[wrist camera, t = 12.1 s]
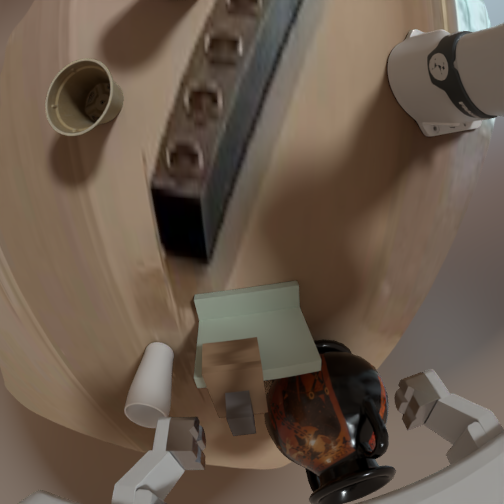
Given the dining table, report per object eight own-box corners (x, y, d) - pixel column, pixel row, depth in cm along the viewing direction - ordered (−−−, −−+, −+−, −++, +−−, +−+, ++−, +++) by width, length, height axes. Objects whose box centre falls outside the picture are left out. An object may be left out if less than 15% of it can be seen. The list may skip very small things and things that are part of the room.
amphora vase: (329, 404, 59) (365, 506, 33) (242, 394, 54) (255, 519, 29) (381, 335, 52) (450, 444, 26) (285, 313, 47) (334, 465, 22)
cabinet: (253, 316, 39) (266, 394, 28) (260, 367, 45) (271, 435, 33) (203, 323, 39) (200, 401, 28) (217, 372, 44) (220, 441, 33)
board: (296, 280, 45) (322, 335, 32) (298, 311, 47) (320, 370, 35) (194, 294, 44) (185, 355, 32) (202, 325, 47) (197, 388, 34)
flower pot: (139, 68, 31) (118, 53, 23) (132, 133, 35) (108, 133, 27) (80, 75, 30) (50, 65, 22) (74, 136, 33) (42, 139, 25)
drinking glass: (181, 343, 48) (171, 410, 34) (174, 368, 50) (165, 432, 36) (144, 332, 47) (124, 397, 33) (140, 358, 49) (122, 421, 35)
